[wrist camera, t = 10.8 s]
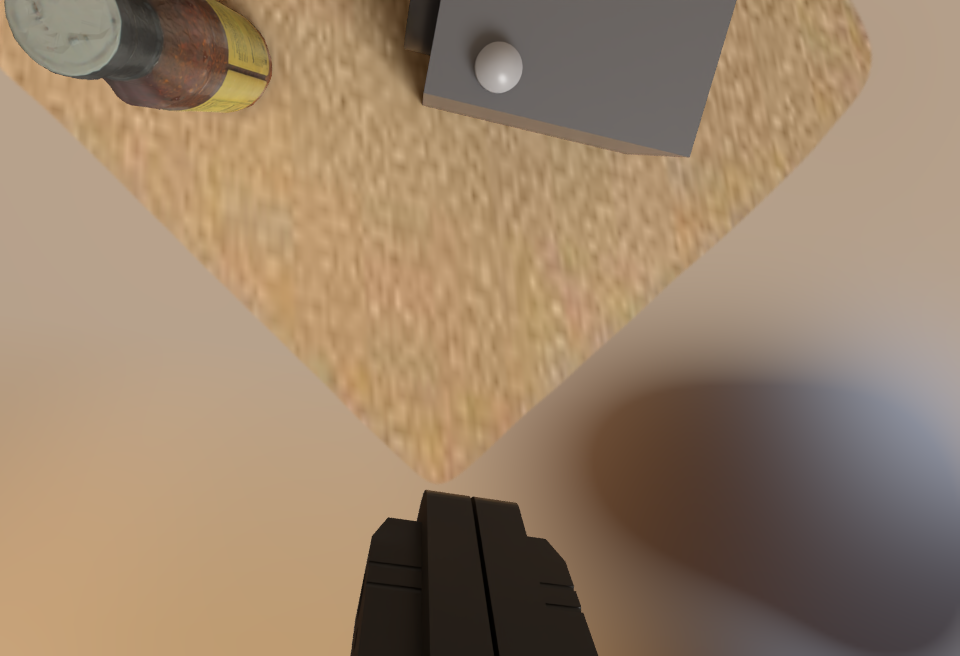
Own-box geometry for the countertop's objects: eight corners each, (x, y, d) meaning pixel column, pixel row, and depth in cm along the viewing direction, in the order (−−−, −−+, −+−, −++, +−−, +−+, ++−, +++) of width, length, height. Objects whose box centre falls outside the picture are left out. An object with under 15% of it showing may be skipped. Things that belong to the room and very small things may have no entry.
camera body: (428, -67, 40) (432, -149, 29) (668, 0, 42) (758, -51, 31) (399, 99, 43) (392, 84, 31) (626, 154, 45) (695, 157, 34)
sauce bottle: (191, -5, 40) (-17, -139, 21) (288, 36, 41) (174, -57, 22) (166, 97, 41) (-49, 57, 22) (260, 133, 42) (131, 125, 23)
